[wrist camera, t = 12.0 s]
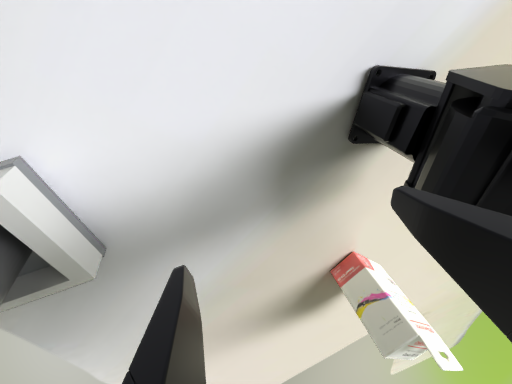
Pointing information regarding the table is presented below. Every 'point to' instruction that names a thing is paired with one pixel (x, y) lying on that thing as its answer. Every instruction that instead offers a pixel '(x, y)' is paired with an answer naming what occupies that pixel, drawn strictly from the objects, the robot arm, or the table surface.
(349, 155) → the table surface
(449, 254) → the robot arm
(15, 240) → the gray cylindrical canister
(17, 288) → the white open box
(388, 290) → the ink cartridge box
